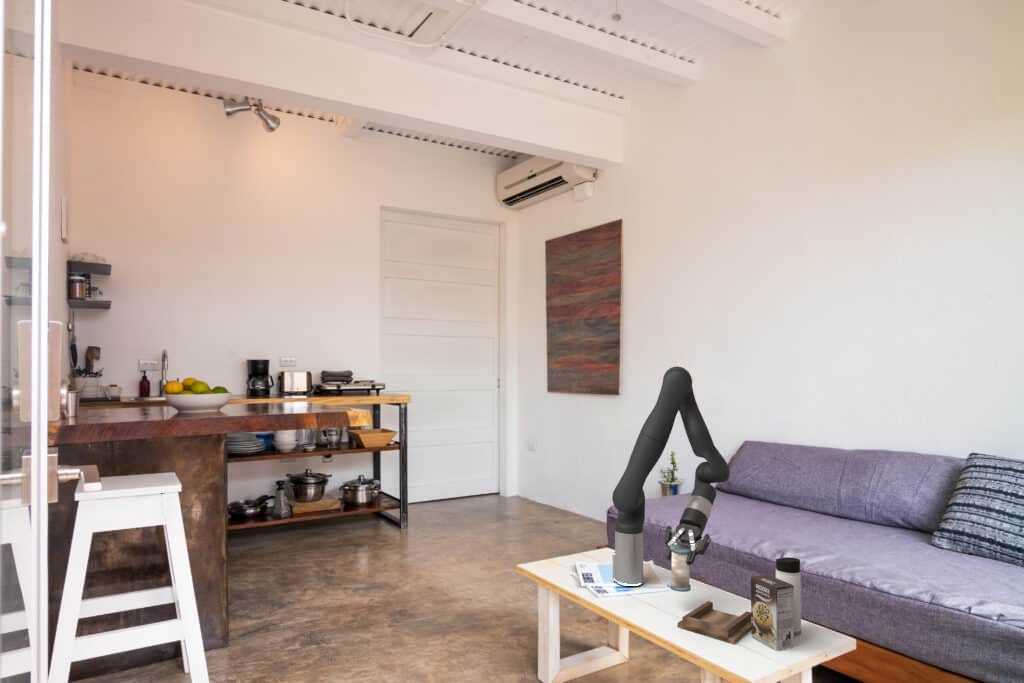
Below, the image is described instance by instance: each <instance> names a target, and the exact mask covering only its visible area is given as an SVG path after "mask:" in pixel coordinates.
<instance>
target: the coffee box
mask: <svg viewBox="0 0 1024 683" xmlns="http://www.w3.org/2000/svg"><path fill="white" fill-rule="evenodd" d="M750 612H751V631H750V633H751V634H750V636H751V639H754V640H755V641H757V642H759V643H761V644H762V645H765V646H767V647H768V648H770V649H772V650H774V649H775V650H774V651H776V652H778V651H777V650H779V651H783V650H787V648H788V649H792V648H794V647H795V644H794V640H795V639H794V637H795V636H794V585H792V584H789V583H787V582H785V581H782V580H780V579H777V578H776V576H775V577H774V576H773V575H770V574H765V575H755V576H751V577H750ZM782 649H783V650H782Z"/></svg>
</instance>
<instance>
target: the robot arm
mask: <svg viewBox="0 0 1024 683" xmlns="http://www.w3.org/2000/svg"><path fill="white" fill-rule="evenodd" d="M678 413H679V415H680V417H681V420H682V423H683V427H684V430H685V433H686V437H687V439H688V442H689V445H690V446H691V447H690V448H691V450H692V452H693V454H694V456H695V457H698V458H702V459H705V460H706V461H702V462H700V463H699V464H698V465H697V467H696V468H695V472H694V474H695V475H694V485H693V489H692V492H691V495H690V497H689V499H688V500H687V502H686V505H685V508H684V510H683V512H682V515H681V517H680V520H679V523H678V525H677V526H676V527H672V526H671V525H666V526H667V527H666V530H665V534H664V537H663V538H664V539H663V543H664V544H665V546H666V547H667V548H666V550H665V553H664V555H665V558H666V560H667V561H672V551H671V550H670V547H671V545H683V544H687V545H688V546H689V545H690V547H691V551H690V552H689V555H688V557H687V560H686V563H687V565H689V566H690V567H691V565H693V564H694V562H695V559H696V558H697V557H696V556H698V555H701V556H703V555H704V554H705V552H706V551H707V549H708V547H709V545H710V543H711V542H712V537H711V536H710V534H709V533H704V531H705V530H706V527H707V523H708V522H709V518H710V516H711V512H712V508H713V505H714V502H715V499H716V498H717V489H716V488H715V487H714V486H713V485H712V484H718V483H725V482H726V481H728V480H729V478H730V475H731V473H730V467H729V465H728V462H727V461H726V460H725V458H724V456H723V455H722V454H721V453H720V451H719V449H718V448H717V447H716V446H715V443H714V441H713V438H712V436H711V433H710V431H709V428H708V426H707V424H706V422H705V419H704V417H703V416H702V413H701V411H700V409H699V406H698V403H697V401H696V397H695V393H694V388H693V378H692V375H691V373H690V372H689V370H688V369H686V368H684V367H681V366H672V367H670V368H669V369H667V370H666V371H665V373H664V374H663V378H662V384H661V387H660V392H659V394H658V397H657V400H656V403H655V405H654V406H653V409H652V410H651V412H650V413H649V414H648V417H647V418H646V419H645V421H644V423H643V425H642V427H641V429H640V432H639V434H638V436H637V439H636V441H635V444H634V446H633V449H632V452H631V454H630V457H629V460H628V463H627V465H626V468H625V470H624V472H623V474H622V476H621V478H620V479H619V481H618V483H617V485H616V486H615V488H614V490H613V492H612V495H611V496H612V498H611V500H612V503H613V506H614V508H615V509H616V510H617V517H616V519H615V522H614V542H615V543H614V546H615V547H614V549H615V550H614V552H613V553H612V579H613V578H615V579H616V580H617V581H620V582H622V583H627V584H638V583H642V582H643V583H644V524H645V514H646V495H645V491H644V485H645V483H646V480H647V478H648V476H649V475H650V474H651V472H652V470H653V469H654V467H655V466H656V465H657V463H658V461H659V460H660V458H661V456H662V455H663V453H664V452H665V451H664V450H665V449H666V446H667V444H668V441H669V438H670V435H671V433H672V430H673V427H674V424H675V421H676V417H677V415H678ZM700 540H701V542H700V543H699V545H698V542H699V541H700Z"/></svg>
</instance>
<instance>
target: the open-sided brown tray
mask: <svg viewBox="0 0 1024 683" xmlns="http://www.w3.org/2000/svg"><path fill="white" fill-rule="evenodd" d="M713 604H714V603H713V601H709V600H708V601H706V602H704V603H702V604H701V605H700V606H697V607H696V608H695V609H693V610H691V611H690V612H688V613H686V614H685V615H683V616H682V619H681V620H680V621H678V622H677V628H678V629H682V630H686V631H688V632H692V633H696V634H698V635H702V636H706V637H708V638H711V639H715V640H718V641H721V642H724V643H728V644H731V645H736V644H737V643H738V642H739V641H740V640H742V638H744V637H745V636H747V634H749V633H751V611H747V610H746V611H745V612H743V613H742V614H741V615H735V614H731V613H728V612H724V611H721V610H716V609H714V605H713Z"/></svg>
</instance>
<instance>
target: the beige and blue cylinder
mask: <svg viewBox="0 0 1024 683" xmlns="http://www.w3.org/2000/svg"><path fill="white" fill-rule="evenodd" d="M670 550H671V551H672V557H671V572H670V573H671V575H670V576H671V581H670V583H669V589H671V590H673V591H675V592H682V593H683V592H685V593H687V592H689V591H691V590H692V589H691V584H690V572H691V571H690V569H691V568H690V567H691V566H689V565H687V563H686V560H687V557H688V555H689V552H690V551H691V546H689V545H685V544H681V545H671V547H670Z"/></svg>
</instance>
